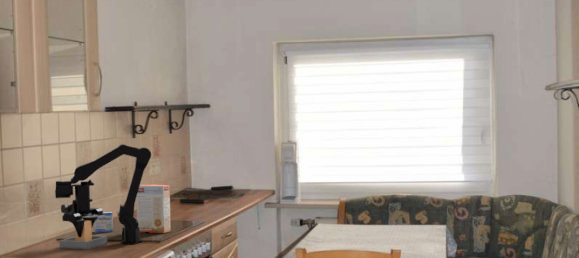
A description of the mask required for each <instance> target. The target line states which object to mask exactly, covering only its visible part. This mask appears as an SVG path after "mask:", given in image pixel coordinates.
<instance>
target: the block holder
mask: <svg viewBox="0 0 579 258" xmlns="http://www.w3.org/2000/svg"><path fill="white" fill-rule="evenodd" d="M107 244H108V236H107V235H106V236H105V235H92V240H90V241H87V242H85V241H75V236H72V237H68V238H64V239H60V240H59V249H70V250H82V251H83V250H85V251H87V250H90V249H91V250H92V249H94V248H98V247H101V246H105V245H107Z"/></svg>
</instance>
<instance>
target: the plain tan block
mask: <svg viewBox="0 0 579 258" xmlns="http://www.w3.org/2000/svg"><path fill="white" fill-rule="evenodd" d="M92 229H93V227H92V226H91V220H85V222H84V227H83V232H82V236H81V237H78V234H77V232H76V229H75V228H74V233H75V234H74V235H75V236H74V237H75V241H85V242H87V241H90V240H92V236H93V234H92V233H93V232H92V231H93V230H92Z"/></svg>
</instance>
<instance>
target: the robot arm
mask: <svg viewBox="0 0 579 258" xmlns="http://www.w3.org/2000/svg"><path fill="white" fill-rule="evenodd" d="M123 155H125V156H129V157H133V158H135V161H134V170H133V173H132V177H131V180H130V184H129V188H128V192H127V194H126V195H127V196H126V198H125V201H124V203H123V204H121V203H120V204H119V209H118V211H117V215H116V216H118V217H117V218H118V221H119V223H120V224H121V225H122V226H124V227H122V231H121V241H120V244H124V245H127V244H128V245H136V244H138V243H141V242H142V243H143V240H142V239H141V232H140V227H138V225H139V223H138V221H137V218H135V217H134V215H135V204H136V201H137V193H138V190H139V186H140V185H141V183H142V179H143V175H144V171H145V170H146V169H147V165H148V164H149V162H150V160H151V158H152V152H151V150H150V149H149V148H147V147H145V146H144V147H143V146H141V147H139V148H138V147H133V146H130V145H126V144H123V143H122V144H120V145H118V146H117V147H115V148H114V149H112V150H110V151H108V152H106V153H105V154H103V155H101V156H100V157H98V158H96V159H94V160H92V161H89V162H87V163H83V164H80V165H78V166H77V167H76V168H75V169H74V173H73V176H72V178H70V180H67V181H66V180H64V181H61V180H56V181H55V190H54V193H55V194H54V195H55V197H54V198H55V199H69V198H71V196H74V197H75V199H72V201H71V204H67V203H63V204H62V205H61V204H60V212H61V213H62V217H61V219H62V222H69V223H71V224H72V225H73V227H74V230H75V229H76V232H77V234H78V237H81V236H82V232H83V227H84V222H85V220H91V226H92V228H93V226H94V222H95V221H96V219H97V218H98V217H95V215H98V216H100V215H103V212H104V210H103V208H101V207H91V202H93V198H91V191H90V189H91V186H95V182H94V181H92V180H91V178H90V179H89V177H91V176H92V175H93V174H95V173H96V171H98V170H99V169H100V168H102V167H104V166H105V165H107V164H109V163H111V162H112V161H114V160H116V159H118V158H120V157H122V156H123ZM88 179H89V180H88ZM86 180H87V181H86ZM79 181H80V183H79ZM94 214H95V215H94Z"/></svg>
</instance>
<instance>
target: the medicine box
mask: <svg viewBox="0 0 579 258" xmlns="http://www.w3.org/2000/svg"><path fill="white" fill-rule="evenodd" d="M94 215H95V214H94ZM95 217H98V218H97V219H96V221H95V222H94V224H93V226H94V233H95V234H100V233H99V232H103V233H113V232H114V221H113V218H114V217H113V212H112V211H108V212H107V211H103V215H100V216H98V215H95Z"/></svg>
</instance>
